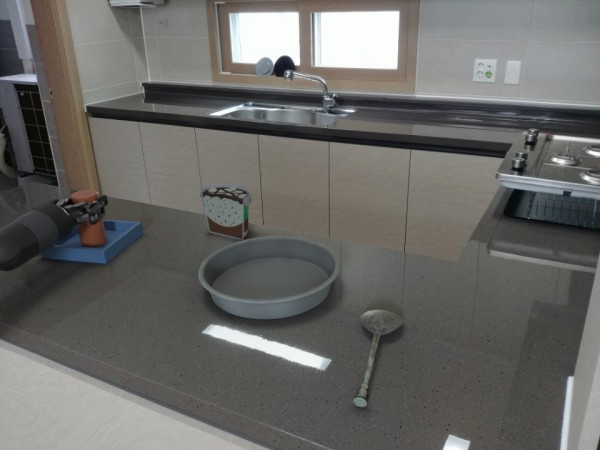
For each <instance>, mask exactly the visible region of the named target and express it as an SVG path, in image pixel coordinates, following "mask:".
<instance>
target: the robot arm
mask: <svg viewBox="0 0 600 450" xmlns="http://www.w3.org/2000/svg"><path fill="white" fill-rule="evenodd" d="M108 205H109V198H108V195H107V194H102V195H99V197H98V198H97V199H95V200H93V201H91V202H88V203H86V202H81V203H78V204H75V205H73V204H72V200H71V197H69V198H62V200H60V199H59V198H55V199H52V200H49V201H47V202H44V203H42V204H39V205H37V206H34V207H32V210H29V211H27V212H26V213H24V214H23V215H21V216H18V217H17V218H16V219H14V220H13V221H11V222H10V223H8V224H6V225H4V226H3V227H1V228H0V272H11V271H14V270H17V269H18V268H20V267H22V266H24V265H25V264H27V263H28V262H30V261H31V260H33V259H35V258H36V257H39V256H41V254H43V253H44V252H46V251H48V250H49V249H51V248H52V247H54V246H55V245H57V244H58V243H60V242H61V241H63V240H64V239H66V238H67V237H68V236H69V235H70V234H71V231H72V229H73V227H74V226H76V225H78V224H81V223H82V222H83V221H90V224H91V225H95V224H97V223H98V222H99V221H100V220H101V218H102V217H103V218H104V217H105V216H106V214H107V213H106V208H105V207H107V206H108ZM90 206H92V209H91V210H89V207H90ZM81 207H82V209H83V213H82V209H81Z"/></svg>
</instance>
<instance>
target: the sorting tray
mask: <svg viewBox="0 0 600 450" xmlns="http://www.w3.org/2000/svg"><path fill="white" fill-rule="evenodd" d="M103 222H104V227H105V232H106V237H107V242H106V243H105V244H104V245H102V246H99V247H95V248H85V247H82V246H81V242H80V237H79V233H78V228H77V225H76V226H74V227H73V229H72V231H71V234H70V235H69V236H68V237H67V238H66V239H64V240H63V241H61V242H60V243H58V244H57V245H55V246H54V247H52V248H51V249H49V250H48V251H46V252H44V253H43V254H41V255H40V256H41V257H40V258H41V259H48V260H49V259H50V260H59V261H60V260H61V261H71V262H80V263H81V262H82V263H94V264H101V265H102V264H103V265H104V264H105V265H106V264H108V263H109V262H111V260H113V259H114V258H116V257H117V255H119V254H120V253H121V252H123V251H124V250H125V249H126V248H127V247H129V246H130V245H131V244H133V243H134V242H135V241H136V240H138V238H141V236H142V235H144V227H143V222H142V221H136V220H135V221H134V220H119V219H104V218H103Z"/></svg>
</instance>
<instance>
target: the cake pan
mask: <svg viewBox="0 0 600 450" xmlns="http://www.w3.org/2000/svg"><path fill="white" fill-rule="evenodd" d="M340 271H341V262H340V258H339V256H338V255H337V254H336V252H335V251H334V250H332V249H331V248H330V247H328V246H326V245H325V244H322V243H320V242H318V241H315V240H311V239H307V238H305V237H303V238H302V237H297V236H288V235H286V236H285V235H271V236H270V235H269V236H258V237H253V238H246V239H245V240H238V241H236V242H232V243H230V244H227V245H225V246H223V247H220V248H219V249H217V250H215V251H213V252H212V253H211V254H209V255H208V256H207V257H206V258H205V259H204V260H203V261H202V262H201V263H200V265H199V268H198V272H197V277H198V281H199V283H200V284H201V285H202V287H203V288H204V289H205V290H206V291H208V292H209V295H210V297H211V299H212V301H213V302H214V304H215V305H216V306H217V307H218V308H219V309H221V310H223V311H224V312H226V313H228V314H231V315H233V316H236V317H240V318H244V319H252V320H277V319H285V318H290V317H295V316H297V315H298V316H299V315H301V314H304V313H306V312H309V311H311V310H313V309H315V308H316V307H318V306H319V305H321V304H322V303H323V302H324V301H325V300H326V299H327V298H328V296H329V294H330V293H331V291H332V286H333V282H334V281H335V280H336V278H337V277H338V276H339V274H340Z"/></svg>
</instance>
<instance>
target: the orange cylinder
mask: <svg viewBox="0 0 600 450" xmlns="http://www.w3.org/2000/svg"><path fill="white" fill-rule="evenodd" d="M98 197H100V195H99V192H98V190H95V189H82V190H78V191H76V192H75V191H74V192H72V193H71V195H70V198H71V200H72V204H73V205H75V204H78V203H81V202H86V203H88V202H91V201H93V200H95V199H97V198H98ZM81 209H82V207H81ZM91 209H92V206H90V207H89V210H91ZM82 213H83V209H82ZM103 219H104V216H103V217H102V218H101V220H100V221H99V222H98V223H97V224H95V225H91V224H90V221H83V222H82V223H81V224H78V225H77V228H78V233H79V237H80V242H81V246H82V247H85V248H95V247H99V246H102V245H104V244H105V243H106V242H107V237H106V232H105V227H104V222H103Z"/></svg>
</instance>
